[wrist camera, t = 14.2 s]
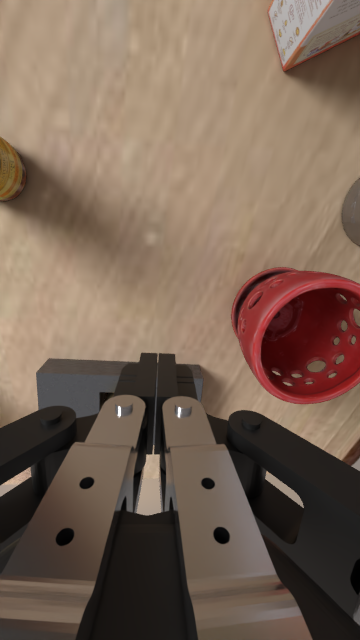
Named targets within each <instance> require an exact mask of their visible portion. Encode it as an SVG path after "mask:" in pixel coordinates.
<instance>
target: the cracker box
mask: <svg viewBox="0 0 360 640" xmlns="http://www.w3.org/2000/svg"><path fill="white" fill-rule="evenodd" d="M268 15H269V19H270V23H271V27H272V30H273V34H274V38H275V42H276V45H277V49H278V53H279V57H280V61H281V64H282V68H283V71H286V70H289V69H291V68H293V67H294V66H297V65H298V64H300V63H302V62H305V61H307V60H309V59H311V58H313V57H315V56H317V55H319V54H321V53H323V52H325V51H327V50H329V49H330V48H332V47H334V46H336V45H338V44H340V43H342V42H344V41H346V40H349V39H350V38H352V37H355V36H357V35H359V34H360V0H272V2H271V4H270V6H269V9H268Z"/></svg>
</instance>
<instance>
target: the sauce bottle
mask: <svg viewBox="0 0 360 640" xmlns="http://www.w3.org/2000/svg"><path fill="white" fill-rule="evenodd" d="M26 178H27V176H26V170H25V167H24V163H23V162H22V159H21V157H20V155H19V154H18V153H17V152H16V151H15V150H14V148H13V147H12V146H11V145H10V144H9V143H8V142H7V141H5V140H4V139H3V138H1V137H0V201H7V200H11V199H13V198H16V197H17V196H18V195H19V194H20V193H21V191H22V190H23V188H24V186H25V184H26Z"/></svg>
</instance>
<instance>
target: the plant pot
mask: <svg viewBox="0 0 360 640" xmlns="http://www.w3.org/2000/svg"><path fill="white" fill-rule="evenodd" d="M340 294H341V295H343V296H344V297H345V298H346V300H347V301H346V300H344V299H343V298H342V297H341V296H340ZM354 309H358V310H359V311H360V284H358V283H356V282H354V281H352V280H349V279H347V278H344V277H341V276H337V275H333V274H329V273H323V272H314V271H298V270H295V269H292V268H286V267H279V268H272V269H268V270H265V271H263V272H260V273H258V274H257V275H255V276H253V277H252V278H251V279H249V280H248V281H247V282H246V283H245V284H244V285H243V286H242V288H241V289H240V290H239V292H238V294H237V296H236V298H235V300H234V303H233V307H232V314H231V319H232V326H233V329H234V332H235V334H236V336H237V338H238V339H239V343H240V346H241V349H242V352H243V355H244V357H245V360H246V361H247V363H248V365H249V367H250V369H251V370H252V372H253V374H254V375H255V377H256V378H257V380H258V381H259V383H260V384H261V385H262V386H263V387H264V388H265V389H266V390H267V391H268V392H269V393H270V394H272V395H273V396H275V397H277V398H279V399H281V400H283V401H286V402H290V403H295V404H313V403H320V402H324V401H328V400H331V399H334V398H336V397H338V396H340V395H342V394H344V393H346V392H347V391H349V390H350V389H352V388H353V387H355V386H356V385H357V384H358V383H360V327H359V326H358V325H357V324H356V322H355V320H354V317H353V311H354ZM343 320H345V321H346V322H347V325H348V327H347V330H346V331H345V332H344V331H343V330H342V329H341V322H342V321H343ZM353 336H355V337H356V342H355V344H352V343H351V338H352V337H353ZM336 337H338V338H339V339H340V342H339V344H338V345H334V339H335V338H336ZM340 355H344V361H343V362H341V363H339V364H336V359H337V358H338V356H340ZM317 360H320V361H323V362H325V363H326V366H325V368H324V369H323V370H321V371H320V372H310V371H309V370H308V369H307V366H308V365H309V364H310V363H311V362H313V361H317ZM272 371H276V372H278V373H279V374H281V376H280V375H276V374H274V373H273V372H272ZM332 373H337V374H336V376H335V377H332V378H328V377H329V375H330V374H332ZM292 374H300V375H302V377H300V378H294V377H292V376H291V375H292ZM267 376H268V377H269V378H268V377H267ZM283 382H287V383H290V384H292V385H293V386H288V385H285V384H284V383H283ZM306 382H313V384H305V383H306Z"/></svg>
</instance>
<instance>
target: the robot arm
mask: <svg viewBox="0 0 360 640" xmlns="http://www.w3.org/2000/svg"><path fill="white" fill-rule="evenodd" d="M342 223H343V226H344V230H345V232H346V234H347V236H348V237H349V238H350V239H351V240H352V241H353V242H354V243H356V244H357V245H360V178H359V179H358V180H357V181H356V182H355V183H354V185H353V186H352V187H351V188H350V190H349V192H348V194H347V196H346V198H345V201H344V204H343V210H342ZM156 377H157V353H141V357H140V362H139V363H128V364H127V365H126V366H125V367H123V368H122V370H121V373H120V377H119V380H118V383H117V386H116V389H115V392H114V395H113V397H112V398H110V399H108V400H107V401H106V402H105V403H104V404H103V406H102V408H101V410H100V412H99V413H97V414H94V415H90V416H85V417H80V418H76V413H75V411H74V410H73V409H72V408H70V407H67V406H50V407H46V408H43V409H40V410H38V411H36V412H34V413H32V414H29V415H27V416H25V417H23V418H21V419H19V420H17V421H15V422H13V423H10V424H8V425H6V426H4V427H2V428H0V485H2V484H3V483H5V482H6V481H8V480H10V479H11V478H13V477H14V476H16V475H18V474H19V473H21V472H22V471H24V470H26V469H27V468H29V467H31V476H32V477H30V478H29V479H27V480H26V481H24V482H22V483H21V484H19V485H18V486H16V487H15V488H13V489H12V490H10V491H9V492H7V493H6V494H4V495H3V496H1V497H0V640H360V471H358V470H357V469H355V468H353V467H351V466H350V465H348V464H346V463H345V462H343V461H341V460H339V459H338V458H336V457H334V456H332V455H331V454H329V453H327V452H325V451H324V450H322V449H320V448H319V447H317V446H315V445H313V444H312V443H310V442H308V441H306V440H305V439H303V438H301V437H300V436H298V435H296V434H294V433H293V432H291V431H289V430H287V429H286V428H284V427H282V426H281V425H279V424H277V423H275V422H274V421H272V420H270V419H268V418H267V417H265V416H263V415H261V414H259V413H257V412H253V411H247V410H241V411H236V412H234V413H232V414H231V415H230V417H229V420H228V421H227V420H223V419H219V418H215V417H213V416H210V415H208V414H207V413H205V410H204V407H203V405H202V404H201V403H200V402H199V401H198V398H197V393H196V388H195V384H194V378H193V373H192V370H191V369H190V368H189V367H188V366H187V365H176V362H175V354H162V353H159V361H158V381H157V400H156V424H155V447H154V454H160V466H159V481H160V496H161V511H162V512H161V513H157V514H154V515H149V516H145V515H140V514H137V513H136V512H137V506H138V501H139V495H140V490H141V484H142V479H143V471H144V465H145V462H146V454H152V451H153V433H154V416H155V399H156ZM266 471H268V472H269V473H271V474H272V475H273V476H275V477H276V478H278V479H279V480H280V481H282V482H283V483H284V484H286V485H287V486H288V487H290V488H291V489H293V490H294V491H295V492H296V493H297V494H298V495H299V497H300V498H301V500H302V502H303V505H304V508H302V507H301V506H300V505H298V504H297V503H296V502H294V501H293V500H292V499H291V498H289V497H288V496H287V495H285V494H284V493H283V492H281V491H280V490H279V489H277V488H276V487H275V486H273V485H272V484H271V483H270V482H268V481H267V480H266V479H265V476H266Z"/></svg>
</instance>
